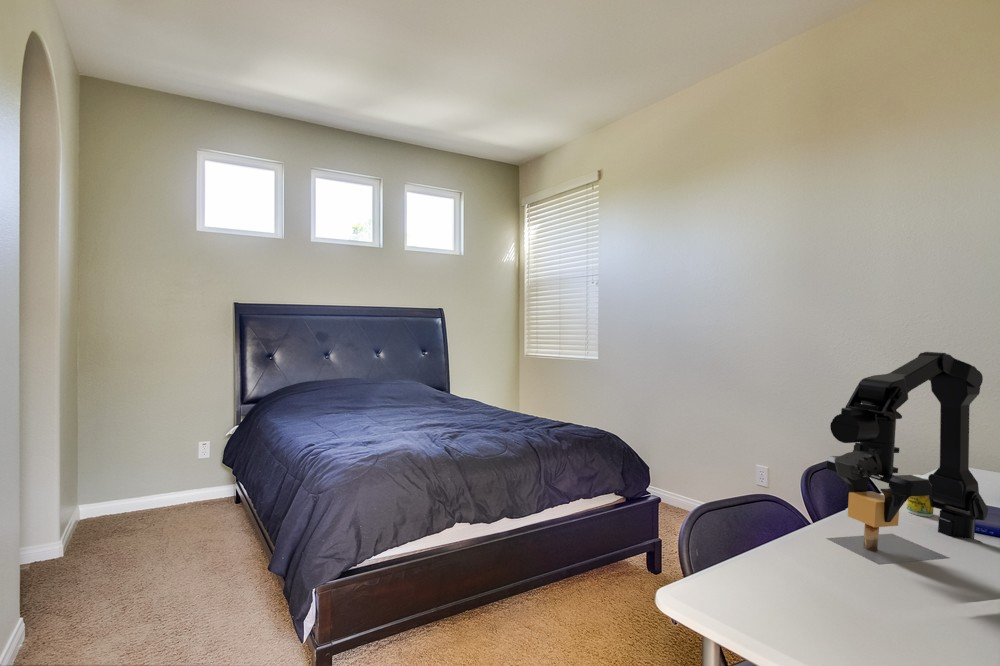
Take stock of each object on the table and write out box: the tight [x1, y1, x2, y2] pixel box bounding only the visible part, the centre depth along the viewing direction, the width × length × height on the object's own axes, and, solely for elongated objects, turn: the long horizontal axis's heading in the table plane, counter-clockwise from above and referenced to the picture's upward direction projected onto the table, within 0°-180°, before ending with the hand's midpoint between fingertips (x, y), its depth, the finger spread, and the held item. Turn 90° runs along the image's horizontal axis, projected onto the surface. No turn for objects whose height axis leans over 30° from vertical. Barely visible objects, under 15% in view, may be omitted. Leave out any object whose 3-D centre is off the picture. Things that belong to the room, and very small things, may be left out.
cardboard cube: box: [847, 490, 900, 528], centre depth 108 cm, size 6×6×5 cm
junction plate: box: [825, 533, 950, 565], centre depth 109 cm, size 18×12×2 cm, turn 104°
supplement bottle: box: [906, 474, 934, 518], centre depth 135 cm, size 5×5×10 cm
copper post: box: [863, 523, 880, 551], centre depth 108 cm, size 2×2×5 cm
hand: (872, 516), depth 108 cm, fingers closed on cardboard cube, 6 cm apart
